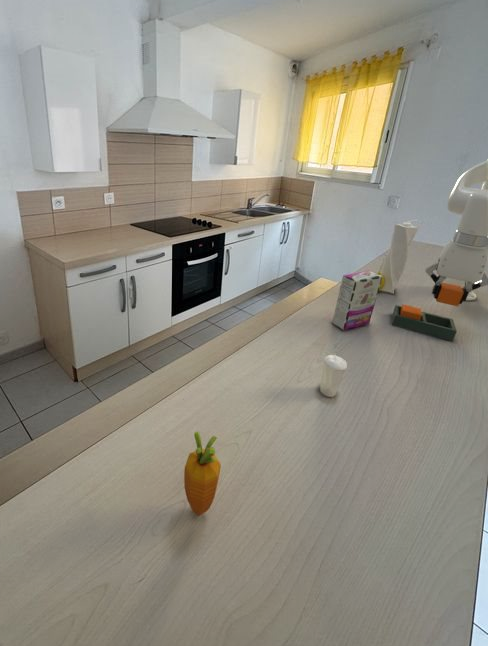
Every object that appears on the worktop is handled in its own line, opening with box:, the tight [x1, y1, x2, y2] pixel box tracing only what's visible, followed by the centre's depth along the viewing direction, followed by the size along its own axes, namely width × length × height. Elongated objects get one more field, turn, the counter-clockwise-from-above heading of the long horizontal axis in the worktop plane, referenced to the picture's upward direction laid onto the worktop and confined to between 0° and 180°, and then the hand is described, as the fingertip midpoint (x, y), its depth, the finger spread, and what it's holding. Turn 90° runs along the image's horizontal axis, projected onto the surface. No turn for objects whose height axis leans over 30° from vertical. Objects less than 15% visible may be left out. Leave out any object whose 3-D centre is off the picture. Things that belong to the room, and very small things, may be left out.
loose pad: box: [435, 282, 464, 307], centre depth 94 cm, size 5×5×4 cm
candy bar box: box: [332, 270, 383, 331], centre depth 97 cm, size 11×5×16 cm, turn 114°
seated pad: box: [399, 304, 423, 320], centre depth 101 cm, size 5×5×4 cm
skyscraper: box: [378, 218, 423, 295], centre depth 119 cm, size 8×8×28 cm
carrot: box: [183, 431, 221, 516], centre depth 45 cm, size 5×5×15 cm
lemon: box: [376, 271, 385, 290], centre depth 121 cm, size 6×6×8 cm
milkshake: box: [319, 346, 348, 398], centre depth 71 cm, size 4×5×10 cm
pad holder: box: [391, 304, 457, 342], centre depth 99 cm, size 8×15×4 cm, turn 59°
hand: (447, 298), depth 94 cm, fingers closed on loose pad, 5 cm apart
